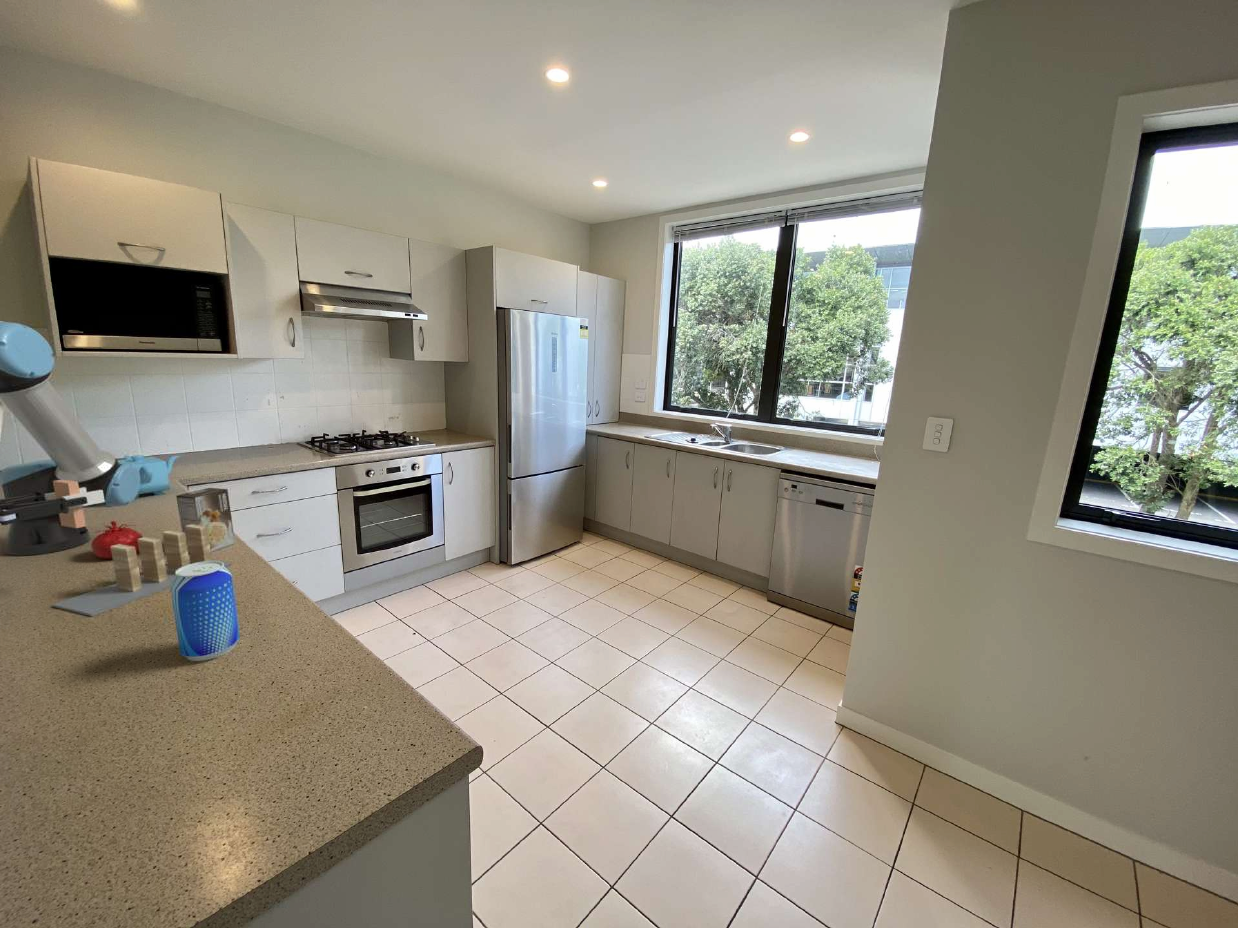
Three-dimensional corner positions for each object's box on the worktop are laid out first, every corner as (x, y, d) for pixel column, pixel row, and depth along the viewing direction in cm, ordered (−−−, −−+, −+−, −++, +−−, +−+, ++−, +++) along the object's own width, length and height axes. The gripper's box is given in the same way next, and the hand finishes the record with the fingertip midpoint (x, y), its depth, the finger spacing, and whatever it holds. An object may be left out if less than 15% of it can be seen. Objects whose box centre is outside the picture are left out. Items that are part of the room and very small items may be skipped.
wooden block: (205, 566, 124) (200, 528, 122) (190, 563, 125) (185, 525, 123) (212, 564, 126) (207, 526, 124) (197, 561, 127) (192, 524, 125)
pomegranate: (113, 565, 125) (106, 530, 123) (82, 560, 127) (75, 525, 125) (156, 550, 135) (151, 517, 132) (127, 545, 136) (121, 513, 134)
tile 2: (133, 592, 110) (126, 549, 108) (117, 588, 111) (110, 546, 109) (142, 589, 111) (135, 546, 109) (126, 585, 113) (119, 543, 111)
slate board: (52, 606, 104) (52, 604, 104) (197, 558, 130) (196, 556, 130) (91, 616, 100) (91, 614, 100) (231, 564, 127) (231, 562, 127)
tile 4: (183, 574, 119) (177, 534, 117) (168, 571, 121) (162, 532, 119) (190, 571, 121) (185, 532, 119) (175, 568, 122) (169, 530, 120)
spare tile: (76, 528, 108) (67, 483, 106) (61, 525, 109) (52, 481, 107) (85, 526, 109) (77, 481, 107) (71, 523, 111) (62, 479, 109)
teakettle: (155, 500, 179) (149, 460, 176) (92, 501, 174) (85, 460, 172) (187, 487, 197) (182, 450, 194) (130, 488, 193) (124, 450, 190)
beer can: (192, 669, 85) (178, 582, 82) (173, 653, 89) (159, 569, 86) (248, 647, 92) (238, 565, 89) (228, 633, 96) (218, 555, 93)
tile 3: (159, 582, 115) (153, 541, 113) (144, 579, 116) (137, 539, 114) (167, 580, 116) (161, 539, 114) (152, 576, 118) (145, 536, 116)
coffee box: (217, 541, 142) (210, 486, 139) (236, 543, 141) (229, 488, 138) (183, 552, 133) (175, 494, 130) (203, 555, 132) (195, 497, 129)
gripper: (-94, 538, 93) (71, 506, 115) (-37, 550, 88) (124, 515, 110) (-104, 499, 92) (65, 474, 114) (-46, 510, 87) (118, 482, 109)
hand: (93, 494), depth 112 cm, fingers closed on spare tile, 5 cm apart
